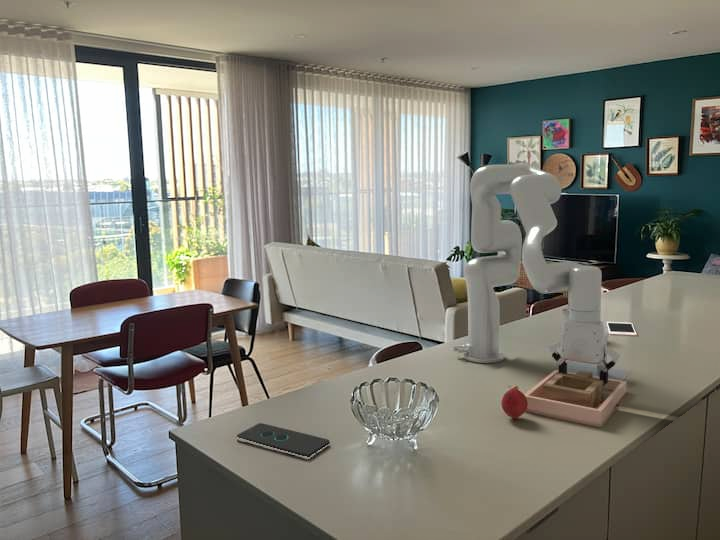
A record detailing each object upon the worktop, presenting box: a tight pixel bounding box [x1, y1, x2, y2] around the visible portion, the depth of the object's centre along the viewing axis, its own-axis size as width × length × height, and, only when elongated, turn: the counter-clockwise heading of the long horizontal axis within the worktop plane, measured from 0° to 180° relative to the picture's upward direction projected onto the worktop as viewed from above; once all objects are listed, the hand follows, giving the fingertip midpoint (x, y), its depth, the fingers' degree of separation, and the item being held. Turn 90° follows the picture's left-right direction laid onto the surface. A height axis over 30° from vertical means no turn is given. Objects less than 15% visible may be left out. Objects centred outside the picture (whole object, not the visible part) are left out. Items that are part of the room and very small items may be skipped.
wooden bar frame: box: [543, 370, 604, 408], centre depth 145 cm, size 16×11×5 cm
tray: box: [523, 369, 628, 429], centre depth 145 cm, size 23×18×4 cm
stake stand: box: [567, 331, 631, 381], centre depth 163 cm, size 17×13×12 cm
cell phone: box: [606, 321, 638, 337], centre depth 213 cm, size 9×18×1 cm, turn 161°
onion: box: [501, 385, 528, 420], centre depth 136 cm, size 6×6×8 cm
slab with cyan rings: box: [236, 422, 331, 457], centre depth 128 cm, size 8×2×20 cm
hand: (582, 382), depth 149 cm, fingers open, 9 cm apart
